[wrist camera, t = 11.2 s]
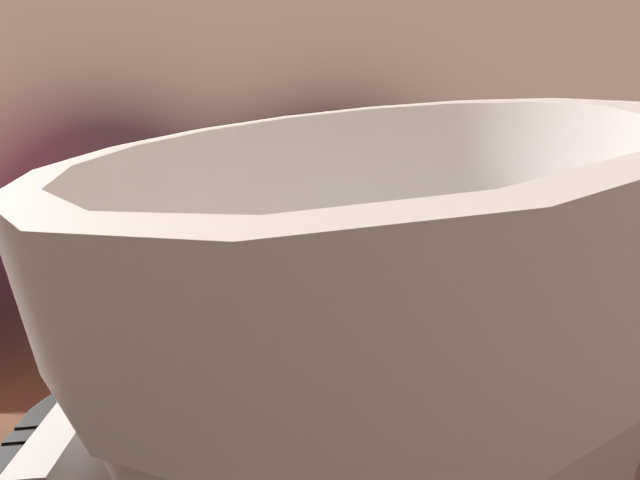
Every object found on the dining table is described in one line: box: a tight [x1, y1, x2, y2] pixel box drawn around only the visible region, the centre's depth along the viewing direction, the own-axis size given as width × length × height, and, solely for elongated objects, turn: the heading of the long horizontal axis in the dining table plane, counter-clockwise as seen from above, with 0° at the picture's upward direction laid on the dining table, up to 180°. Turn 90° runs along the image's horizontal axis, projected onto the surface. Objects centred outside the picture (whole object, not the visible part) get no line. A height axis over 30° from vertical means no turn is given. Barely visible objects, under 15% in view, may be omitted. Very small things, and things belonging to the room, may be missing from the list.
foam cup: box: [0, 98, 640, 480], centre depth 10 cm, size 10×9×13 cm
